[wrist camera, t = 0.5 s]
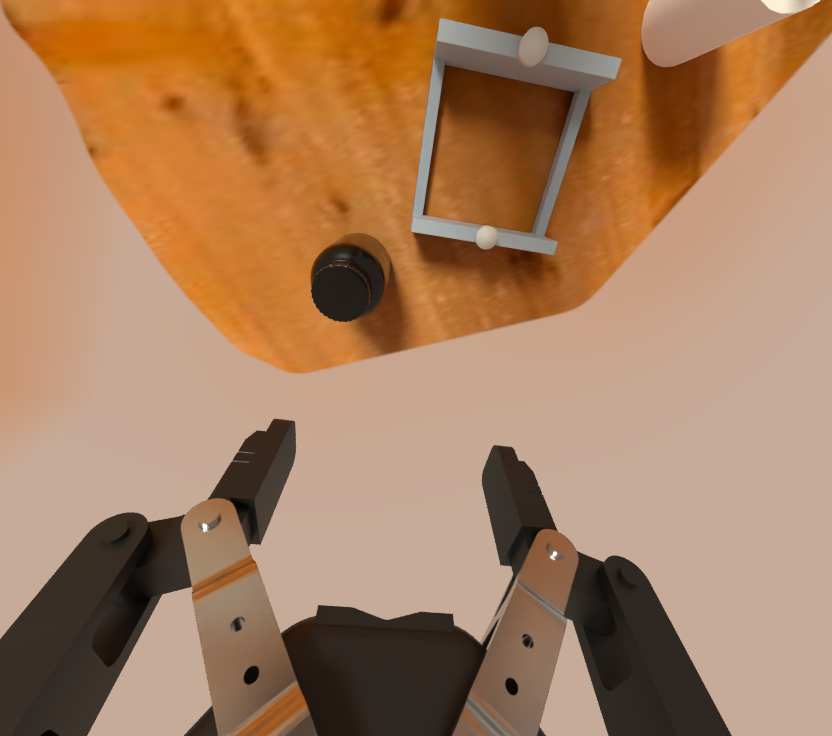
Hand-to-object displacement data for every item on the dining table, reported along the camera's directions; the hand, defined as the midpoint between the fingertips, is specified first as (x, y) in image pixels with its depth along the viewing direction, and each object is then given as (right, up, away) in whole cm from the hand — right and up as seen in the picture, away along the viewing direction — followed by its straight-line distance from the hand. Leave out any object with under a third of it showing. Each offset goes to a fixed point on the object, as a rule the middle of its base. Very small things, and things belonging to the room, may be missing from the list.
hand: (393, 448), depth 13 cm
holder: (+8, +24, +19) cm, 31 cm away
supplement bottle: (-5, +15, +24) cm, 28 cm away
